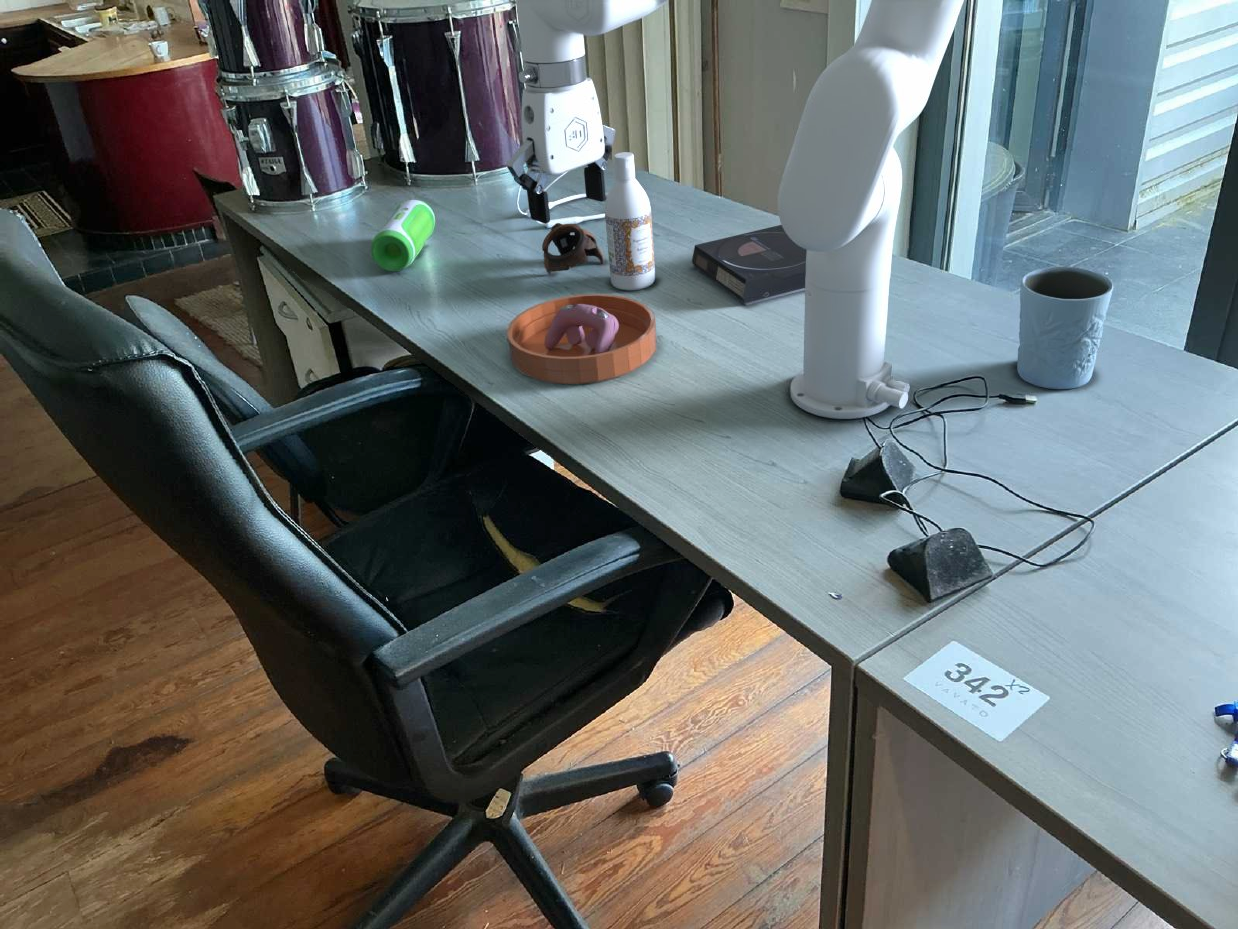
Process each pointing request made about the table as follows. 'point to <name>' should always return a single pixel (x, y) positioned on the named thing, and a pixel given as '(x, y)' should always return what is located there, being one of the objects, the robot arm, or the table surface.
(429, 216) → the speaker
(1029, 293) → the embossed flower pot
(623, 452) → the table surface
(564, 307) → the video game controller
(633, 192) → the bath foam
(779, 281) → the portable cd player
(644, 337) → the catchall bowl
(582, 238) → the brown ring bracket
